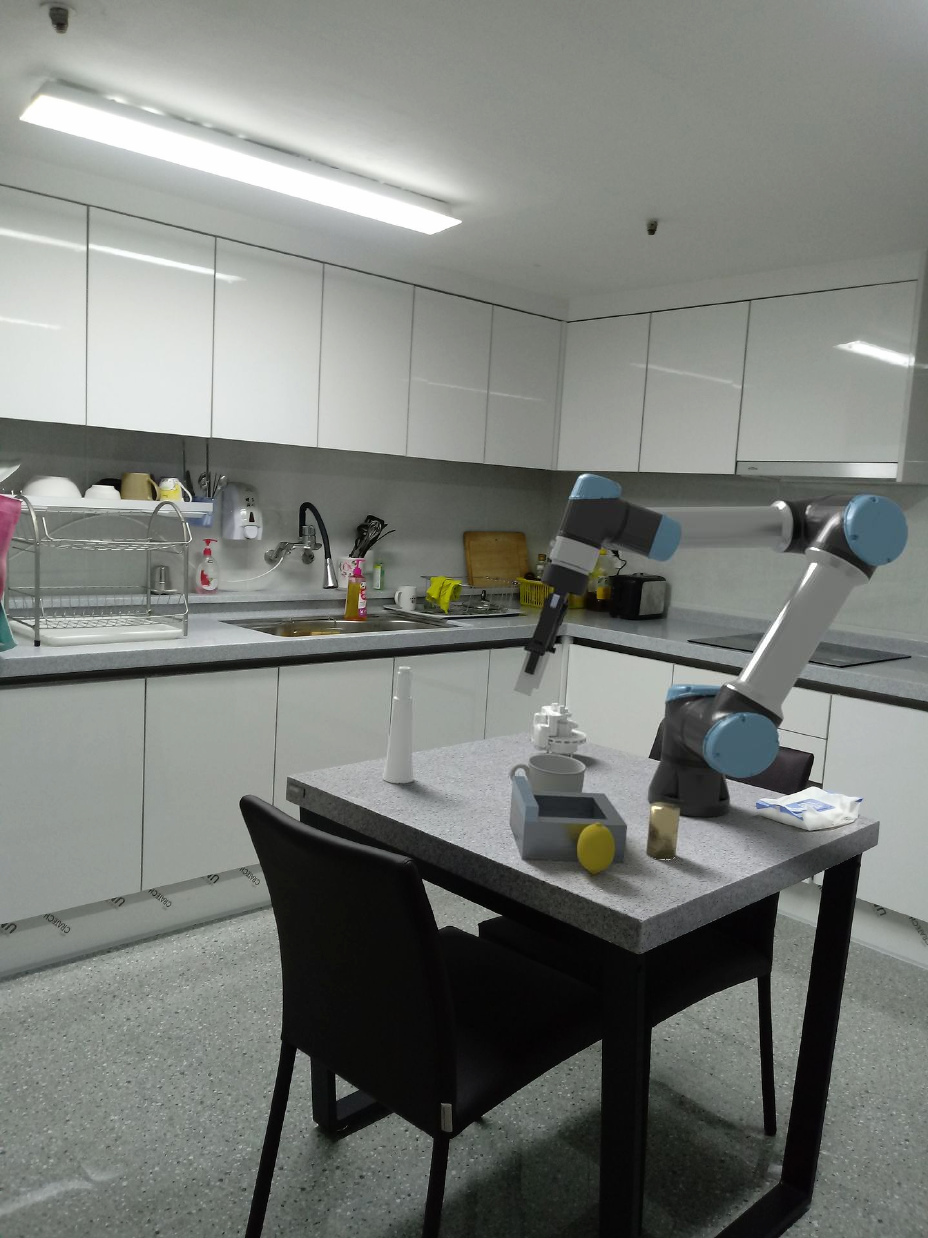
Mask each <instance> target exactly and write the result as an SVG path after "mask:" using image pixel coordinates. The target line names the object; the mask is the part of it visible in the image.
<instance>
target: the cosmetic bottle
mask: <svg viewBox="0 0 928 1238" xmlns="http://www.w3.org/2000/svg"><path fill="white" fill-rule="evenodd" d="M398 670H399V671H398V672H397V673H396V688H395V690H396V691H395V696H393V701H392V708H391V716H390V717H391V718H390V727H389V737H388V744H387V745H388V746H387V752H386V758H385V759H386V760H385V764H384V770H383V774H382V780H384V781H385V782H387V783H392V784H399V783H400V784H401V783H402V784H409V783H412V782H413V781H414V778H415V777H414V770H413V769H414V768H413V697H411V694H412V693H411V690H412V689H411V688H412V672H411V667H409V666H399V667H398Z"/></svg>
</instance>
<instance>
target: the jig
mask: <svg viewBox="0 0 928 1238" xmlns="http://www.w3.org/2000/svg"><path fill="white" fill-rule="evenodd" d="M526 778H527V777H526V775H524V776H523V775H515V776H513V782H512V781H511V782H512V785H511V796H510V797H511V798H510V811H509V812H510V813H509V821H508V822H509V827H510V829H511V832H512V834H513V837H514V841H515V844H516V846H517V849H518V852H519V853H518V854H519V855H520V858H521V859H522V860H534V859H544V860H543V861H546V860H545V859H551V860H550V861H560V860H565V861H566V860H568V861H566V862H580V861H579V859H578V854H577V845H578V840H579V837H580V834H581V833H582V831H583V830H584V829H585V828H586V827H588V826H590V825H593V824H595V823H597V822H598V823H601V825H603V826H605V827H606V828H607V829H608V830H609V831H610V832H611V833H612V836H613V838H614V843H615V853H614V857H613V860H612V863H613V862H614V863H615V862H616V863H618V864H624V863H625V853H626V846H627V845H626V843H627V832H628V824H627V822H625V820H624V818H622V816H621V815H620V813H619V812H618V811H617V809H616V808H615V807H614V804H613V803H612V802H611V800H610V799H609V797H607V795H606V794H605V793H600V792H599V793H598V792H596V793H595V792H582V793H580V792H557V791H534V790H531V789H530V787H529V785H528V783H527V780H526ZM565 861H564V862H565Z"/></svg>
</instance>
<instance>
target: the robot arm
mask: <svg viewBox="0 0 928 1238" xmlns="http://www.w3.org/2000/svg"><path fill="white" fill-rule="evenodd" d="M622 490H623V489H622V486H621V484H619V483H618V482H616V481H614V480H611V479H609V478H608V477H607V478H606V477H603V476H600V475H596V474H593V473H583V474H580V475H579V476H578V477H577V480H576V482H575V483H574V486H573V489H572V491H571V492H570V496H569V497H568V502H567V505H566V508H565V510H564V514H563V516H562V517H563V518H562V520H561V523H560V526H559V529H558V532H557V534H556V535H557V536H556V537H555V540H556V541H555V540H551V541H550V542H549V546H550V547H552V549H551V551H550V553H549V554H550V555H549V560H551V562H548V563H546V564H545V567H544V570H543V574H542V575H541V579H540V583H541V584H542V585H544V586H546V587H547V586H548V587H551V588H553V590H552V592H549V593H548V594H547V597H545V598H544V600H543V604H542V608H541V611H540V614H539V616H538V617H539V618H538V622H537V625H536V627H535V629H534V633H533V634H532V637H531V640H530V642H529V643H528V644H527V643H526V644H525V645H524V646H523V647H524V648H523V650H524V651H526V654H525V658H524V661H523V663H522V666H521V669H520V672H519V674H518V678H517V681H516V683H515V686H514V689H513V691H515V692H517V693H520V694H523V695H526V696H528V697H531V695H532V692H533V690H534V689H536V690H539V687H540V685H541V682H542V679H543V676H544V673H545V670H546V668H547V666H548V665H547V664H548V662H549V659H550V656H551V654H553V655H555V653H556V650H557V648H556V647H555V642H556V639H557V635H558V632H559V629H560V627H561V626H562V624H563V622H564V620H565V616H566V615H567V613H568V611H569V608H570V605H569V600H570V599H569V598H568V597H569V594H571V595H573V596H576V597H580V598H581V597H584V596H585V594H586V591H587V588H588V586H589V582H590V580H591V578H590V576H589V573H590V574H592V573H593V572H594V570H595V566H596V564H597V562H598V558H599V556H600V553H601V550H602V548H603V549H604V550H606V551H620V552H623V553H628V554H629V553H630V554H634V555H635V554H636V555H640V556H642V557H644V558H647V559H648V560H654V561H656V562H661V563H664V562H667V561H669V560H670V559H671V558H672V557H673V556H674V554H675V553H676V552H677V550H678V549H680V550H686V549H687V550H688V549H692V550H694V549H695V550H696V549H697V550H698V549H743V548H744V549H751V548H752V549H757V548H759V549H761V548H763V549H765V548H770V550H771V551H773V552H774V553H779V554H780V553H781V554H782V553H784V554H785V553H786V554H787V553H790V554H799V555H806V560H807V564H806V566H804V567H805V568H804V569H803V571H802V572H801V574H800V575H799V577H798V579H797V581H796V582H795V584H794V585H793V587H792V588H791V591H790V592H789V594H788V595H787V597H786V598H785V600H784V601H783V603H782V604H781V607H780V608H779V610H778V611H777V612H776V615H775V616H774V618H773V620H772V621H771V622H770V624H769V625H768V628H766V629H767V630H766V631H765V633H764V634H763V636H762V637H761V639H760V641H759V642H758V644H757V645H756V647H755V649H754V651H753V652H752V654H751V655H750V656H749V658H748V660H747V662H746V663H745V665H744V667H743V668H742V671H741V672H740V673H739V675H738V676H737V678H736V679H735V680H730V681H728V682H724V683H723V684H722V685H721V686H720V685H710V684H709V685H708V684H694V683H692V684H690V683H689V684H688V683H685V684H683V683H678V684H676V683H675V684H673V685H671V686H669V687H668V689H667V692H666V693H667V694H666V699H665V700H664V701H665V702H664V704H665V708H664V718H663V729H662V730H663V732H662V742H661V755H660V761H659V763H658V766H657V768H656V770H655V772H654V774H653V776H652V779H651V781H650V784H649V786H648V791H647V801H648V802H649V803H650V805H651V804H652V803H655V802H665V803H670V804H674V805H677V806H678V807H680V815H683V816H690V817H700V818H701V817H705V818H707V817H709V818H710V817H719V816H723V815H725V814H727V813H729V811H730V805H731V804H730V803H731V796H730V792H729V791H730V790H729V787H728V783H727V778H726V776H729V777H732V778H735V779H736V778H738V779H742V778H743V779H744V778H745V779H746V778H750V777H754V776H756V775H759V774H761V773H763V772H764V771H766V770H767V768H769V767H770V766H771V764H772V763H773V762H774V761H775V759H776V758H777V755H778V753H779V751H780V750H779V749H780V741H779V738H780V735H779V732H778V729H779V728H780V726H781V724H782V723H783V721H784V719H785V717H784V712H783V710H782V706H783V703H784V702H785V701H786V698H787V697H788V695H789V693H790V691H791V690H792V689H793V687H794V686H795V684H796V682H797V680H798V679H799V677H800V676H801V674H802V672H803V671H804V669H805V668H806V666H807V664H808V663H809V661H810V660H811V657H813V654H814V653H815V651H816V650H817V648H818V647H819V645H820V643H821V642H822V640H823V639H824V637H825V636H826V633H827V632H828V630H829V628H830V627H831V625H832V624H833V622H834V621H835V619H836V618H837V616H838V614H839V612H840V611H841V609H842V607H843V606H844V604H845V603H846V601H847V599H848V598H849V596H850V595H851V593H852V591H853V589H855V587H859V586H863V585H867V584H868V583H869V581H870V580H871V578H872V577H873V575H874V574H875V572H876V571H877V569H878V567H881V566H886V565H887V564H889V563H892V562H894V561H895V560H896V559H898V558H899V557H900V556H901V555H902V554H903V551H904V550H905V548H906V546H907V543H908V536H909V526H908V525H907V518H906V515H905V512H904V511H903V510H902V508H901V507H900V506H899V505H898V504H897V503H896V502H895V501H893V500H892V499H890V498H888V497H886V496H881V495H875V494H871V493H863V494H859V495H858V494H857V495H856V494H855V495H854V494H828V495H821V496H820V495H819V496H813V497H808V498H801V499H791V500H789V499H788V500H776V501H774V502H773V503H772V504H771V505H769V506H768V505H766V506H765V505H763V506H756V505H755V506H689V507H688V506H683V507H681V506H680V507H679V506H678V507H677V506H676V507H666V506H665V507H664V506H663V507H643V506H641V505H637V504H635V503H632V502H629V501H627V500H625V499H624V498H621V496H622V495H621V493H622Z"/></svg>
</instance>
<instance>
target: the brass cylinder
mask: <svg viewBox="0 0 928 1238" xmlns="http://www.w3.org/2000/svg"><path fill="white" fill-rule="evenodd" d="M680 815H681V814H680V807H678V806H677V805H674V804H670V803H665V802H655V803H652V804H651V803H650V810H649V817H648V818H649V819H648V828H647V829H648V831H647V839H646V841H647V843H646V851H645V854H646V856H648V855H649V856H650V857H649V856H648V857H649V858H651V857H653V858H656V859H655V860H657V859H665V860H666V859H673V858H674V857H675V858H676V853H677V846H678V845H677V844H678V834H679V824H680V823H679V822H680ZM653 858H652V859H653ZM673 860H674V859H673Z"/></svg>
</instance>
